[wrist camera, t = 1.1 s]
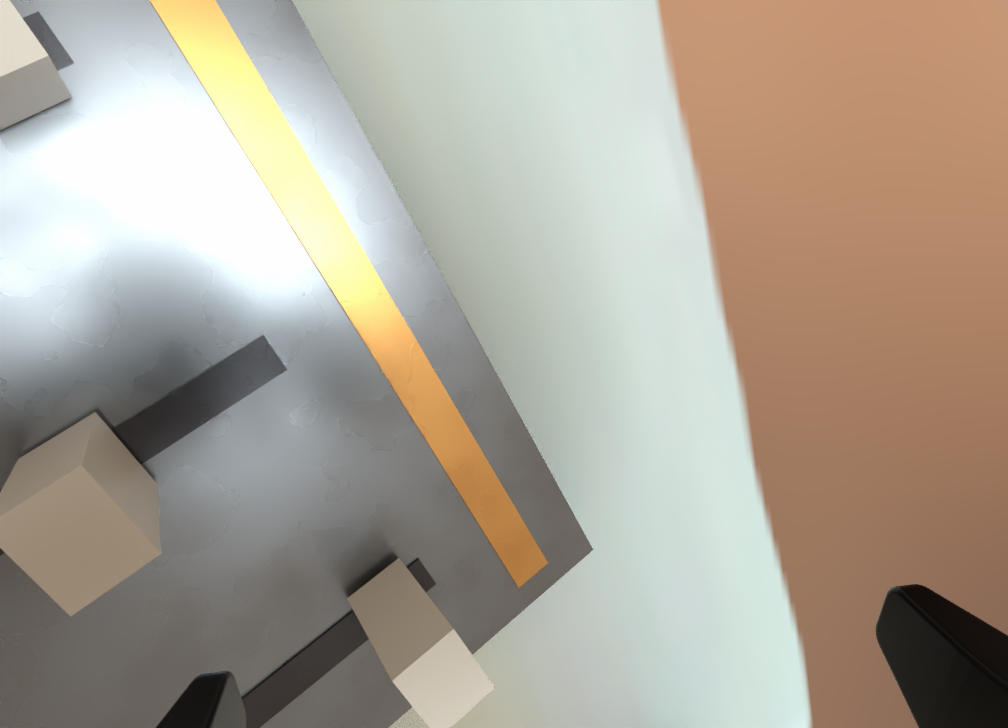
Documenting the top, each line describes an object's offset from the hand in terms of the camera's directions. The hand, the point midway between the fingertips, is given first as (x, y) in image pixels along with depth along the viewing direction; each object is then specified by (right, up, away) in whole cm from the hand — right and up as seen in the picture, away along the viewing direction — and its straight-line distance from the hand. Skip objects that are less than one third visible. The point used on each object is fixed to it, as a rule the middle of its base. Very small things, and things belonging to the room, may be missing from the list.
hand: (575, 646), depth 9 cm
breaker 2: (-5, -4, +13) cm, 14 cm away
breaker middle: (-12, +1, +8) cm, 14 cm away
